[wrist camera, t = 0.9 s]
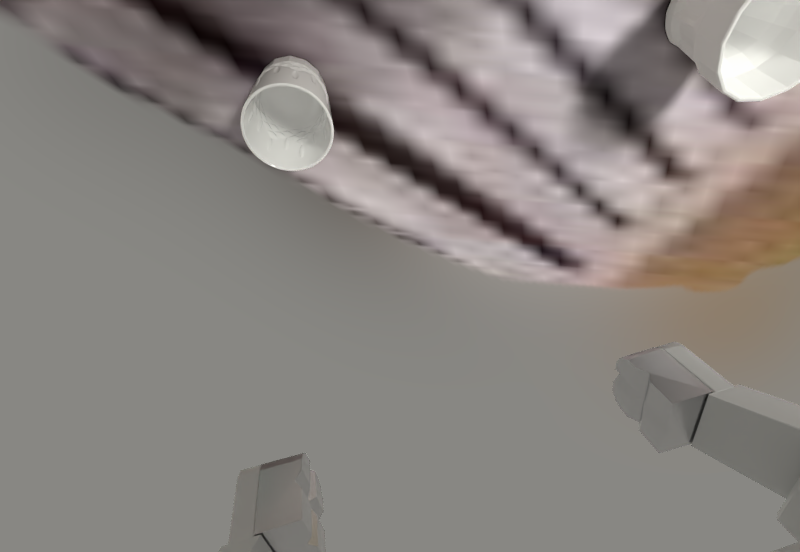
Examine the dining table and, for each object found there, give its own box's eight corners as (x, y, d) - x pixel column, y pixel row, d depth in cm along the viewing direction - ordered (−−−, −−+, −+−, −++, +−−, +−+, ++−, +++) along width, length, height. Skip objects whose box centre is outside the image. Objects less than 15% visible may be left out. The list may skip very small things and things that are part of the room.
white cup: (239, 94, 43) (222, 136, 35) (281, 30, 39) (272, 61, 32) (303, 140, 47) (300, 186, 40) (346, 85, 43) (351, 124, 36)
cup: (709, 76, 48) (786, 113, 40) (622, 55, 45) (686, 90, 37) (798, -55, 40) (916, -42, 32) (700, -93, 37) (804, -88, 29)
